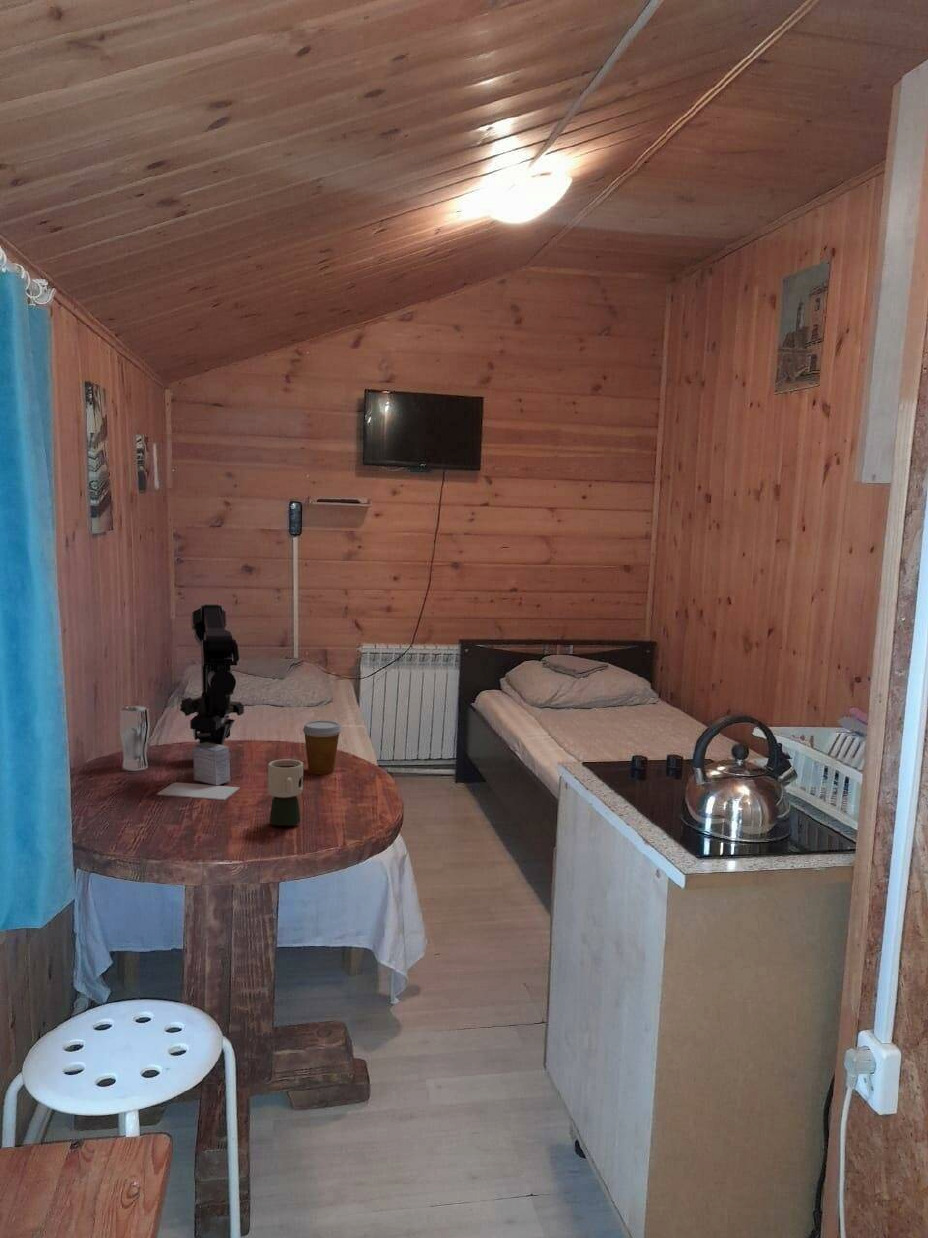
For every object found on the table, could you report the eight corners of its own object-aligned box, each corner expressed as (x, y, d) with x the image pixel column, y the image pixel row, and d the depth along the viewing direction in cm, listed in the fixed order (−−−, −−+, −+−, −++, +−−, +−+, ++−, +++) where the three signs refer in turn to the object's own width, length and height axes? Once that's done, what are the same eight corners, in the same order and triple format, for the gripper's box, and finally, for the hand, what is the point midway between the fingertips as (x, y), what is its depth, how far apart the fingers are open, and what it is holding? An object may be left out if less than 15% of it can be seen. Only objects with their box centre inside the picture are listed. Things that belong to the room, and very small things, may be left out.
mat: (174, 783, 215) (174, 782, 215) (239, 788, 213) (239, 787, 213) (156, 794, 206) (156, 793, 206) (224, 800, 204) (224, 799, 204)
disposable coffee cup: (341, 766, 235) (342, 720, 233) (338, 777, 225) (339, 729, 224) (304, 765, 234) (305, 719, 233) (299, 776, 225) (300, 728, 223)
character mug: (306, 831, 186) (307, 769, 184) (271, 834, 183) (272, 771, 182) (297, 814, 196) (298, 755, 195) (264, 817, 194) (264, 757, 192)
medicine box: (230, 781, 216) (229, 746, 215) (216, 786, 213) (215, 750, 212) (208, 776, 221) (207, 741, 220) (193, 780, 217) (192, 745, 216)
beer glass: (143, 772, 223) (143, 712, 221) (115, 771, 223) (115, 710, 221) (153, 764, 230) (153, 706, 228) (126, 763, 230) (126, 705, 228)
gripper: (202, 677, 228) (201, 738, 230) (168, 692, 210) (168, 758, 212) (244, 680, 227) (244, 741, 229) (215, 695, 208) (214, 762, 210)
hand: (217, 750), depth 220 cm, fingers closed
